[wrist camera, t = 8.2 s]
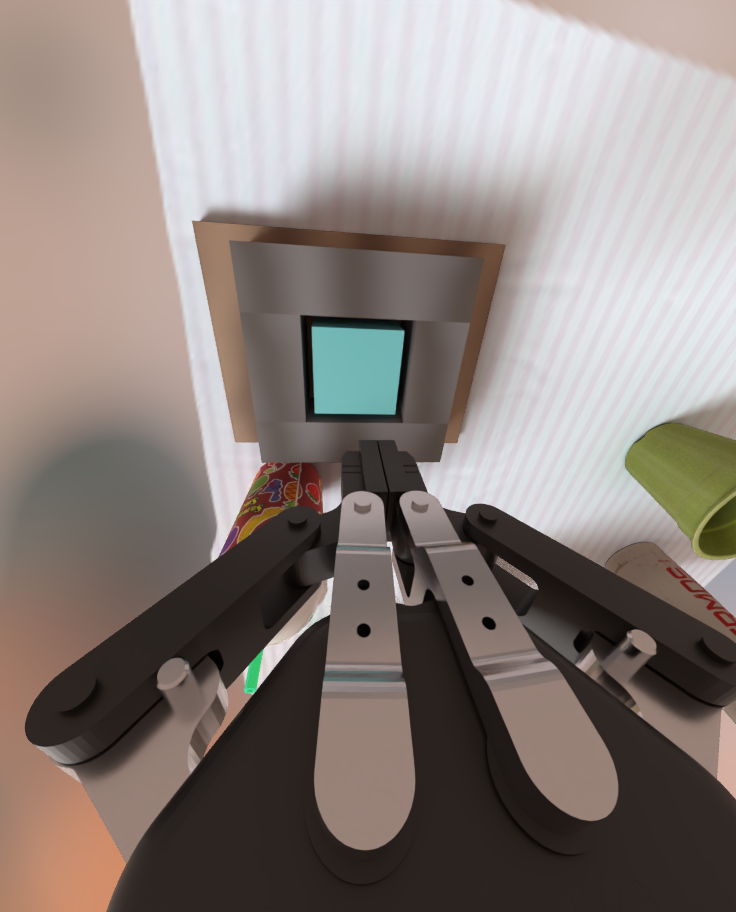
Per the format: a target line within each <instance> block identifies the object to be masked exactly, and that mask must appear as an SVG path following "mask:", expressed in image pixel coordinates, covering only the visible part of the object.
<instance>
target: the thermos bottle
mask: <svg viewBox="0 0 736 912" xmlns="http://www.w3.org/2000/svg"><path fill="white" fill-rule="evenodd" d="M605 568H606V569H607V570H609V571H611V572H613V573H615V574H616V575H618V576H620V577H622V578H624V579H625V580H627V581H629V582H631V583H633V584H634V585H636V586H638V587H640V588H642V589H643V590H645V591H647V592H649V593H650V594H652V595H654V596H656V597H658V598H659V599H661V600H663V601H665V602H667V603H668V604H670V605H672V606H674V607H676V608H677V609H679V610H681V611H683V612H685V613H686V614H688V615H690V616H692V617H694V618H695V619H697V620H699V621H701V622H703V623H704V624H706V625H708V626H710V627H712V628H713V629H715V630H717V631H719V632H720V633H722V634H724V635H725V636H727V637H728V638H730V639H731V640H732V641H734V642H735V643H736V618H735V617H734V616H733V615H732V614H730V613H729V612H728V611H727V610H726V609H725V608H724V607H723V606H722V605H721V604H720V603H719V602H718V601H717V600H716V599H715V598H714V597H713V596H712V595H711V594H709V593H708V592H707V591H706V590H705V589H704V588H703V587H702V586H701V585H700V584H698V583H697V582H696V581H695V580H694V579H693V578H692V577H691V576H690V575H688V574H687V573H686V572H685V571H684V570H683V569H682V568H681V567H680V566H678V565H677V564H676V563H675V562H674V561H673V560H672V559H671V558H670V557H669V556H667V555H666V554H665V553H664V552H663V551H662V550H661V549H660V548H659V547H657V546H656V545H655V544H653V543H649V542H641V543H636V544H632V545H630V546H627V547H625V548H623V549H621V550H619V551H618V552H616V553H615V554H614V555H613V556H611V558H610V559H609V560H608V561H607V563H606V565H605ZM723 710H724V711H725V712H726V713H727V715H728V716H729V717H730V718H731V719H732V720H733V722H734V723H735V724H736V701H734V702H733V703H731V704H729V705H728V706H727V707H725V708H723Z"/></svg>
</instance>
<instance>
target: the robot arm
mask: <svg viewBox="0 0 736 912" xmlns="http://www.w3.org/2000/svg"><path fill="white" fill-rule="evenodd" d="M341 495H342V502H341V504H340V505H339V506H338V507H337V508H335V509H334V510H332V511H330V512H327V513H323V514H319V513H318V512H317V511H316V510H314V509H313V508H310V507H307V506H294V507H290V508H287V509H285V510H283V511H282V512H280V513H279V514H278V515H276V516H275V517H273V518H272V519H271V520H269V521H268V522H267V523H265V524H264V525H263V526H261V527H260V528H258V529H257V530H256V531H254V532H253V533H252V534H250V535H249V536H247V537H246V538H245V539H243V540H242V541H241V542H239V543H238V544H237V545H235V546H234V547H232V548H231V549H230V550H228V551H227V552H226V553H224V554H223V555H221V556H220V557H219V558H217V559H216V560H215V561H213V562H212V563H210V564H209V565H208V566H206V567H205V568H204V569H203V570H201V571H200V572H198V573H197V574H195V575H194V576H193V577H191V578H190V579H189V580H187V581H186V582H185V583H183V584H182V585H181V586H179V587H178V588H176V589H175V590H174V591H172V592H171V593H169V594H168V595H167V596H166V597H164V598H163V599H161V600H160V601H158V602H157V603H156V604H154V605H153V606H152V607H150V608H149V609H148V610H146V611H145V612H143V613H142V614H141V615H139V616H138V617H137V618H135V619H134V620H132V621H131V622H130V623H128V624H127V625H126V626H124V627H123V628H122V629H120V630H119V631H117V632H116V633H115V634H113V635H112V636H111V637H109V638H108V639H106V640H105V641H104V642H102V643H101V644H100V645H98V646H97V647H96V648H94V649H93V650H92V651H90V652H89V653H87V654H86V655H84V656H83V657H82V658H80V659H79V660H78V661H76V662H75V663H74V664H72V665H71V666H70V667H68V668H67V669H65V670H64V671H63V672H61V673H60V674H59V675H58V676H56V677H55V678H54V679H53V680H52V681H51V682H50V683H49V684H48V685H47V686H46V687H45V688H44V689H43V690H42V692H41V693H40V694H39V695H38V697H37V698H36V699H35V701H34V703H33V705H32V706H31V708H30V710H29V712H28V715H27V718H26V722H25V733H26V736H27V738H28V740H29V741H30V742H31V743H32V744H34V745H35V746H36V747H38V748H39V749H41V750H42V751H43V752H45V753H46V754H48V756H49V758H50V760H51V761H52V762H53V763H54V764H55V765H56V766H58V767H59V768H60V769H62V770H63V771H65V772H66V773H67V774H69V775H70V776H72V777H73V778H74V779H76V780H77V781H79V782H80V783H82V785H83V787H84V788H85V790H86V792H87V794H88V796H89V797H90V799H91V801H92V803H93V804H94V806H95V808H96V810H97V811H98V813H99V815H100V817H101V819H102V821H103V822H104V824H105V826H106V828H107V830H108V831H109V833H110V835H111V837H112V839H113V840H114V842H115V844H116V846H117V848H118V849H119V851H120V853H121V855H122V856H123V858H124V860H125V862H126V866H125V868H124V870H123V872H122V874H121V877H120V879H119V881H118V883H117V886H116V888H115V890H114V893H113V895H112V898H111V900H110V903H109V906H108V909H107V912H736V799H735V798H734V797H733V796H732V795H731V794H730V793H729V791H728V790H727V789H726V788H725V787H724V786H723V785H722V784H721V783H720V782H719V781H718V780H717V768H718V752H719V751H718V750H719V737H720V720H721V710H722V709H723V708H725V707H727V706H728V705H729V704H731V703H733V702H734V701H736V643H735V642H734V641H732V640H731V639H730V638H728V637H727V636H725V635H724V634H722V633H720V632H719V631H717V630H715V629H713V628H712V627H710V626H708V625H706V624H704V623H703V622H701V621H699V620H697V619H695V618H694V617H692V616H690V615H688V614H686V613H685V612H683V611H681V610H679V609H677V608H676V607H674V606H672V605H670V604H668V603H667V602H665V601H663V600H661V599H659V598H658V597H656V596H654V595H652V594H650V593H649V592H647V591H645V590H643V589H642V588H640V587H638V586H636V585H634V584H633V583H631V582H629V581H627V580H625V579H624V578H622V577H620V576H618V575H616V574H615V573H613V572H611V571H609V570H607V569H606V568H604V567H602V566H600V565H598V564H597V563H595V562H593V561H591V560H589V559H588V558H586V557H584V556H582V555H580V554H579V553H577V552H575V551H573V550H571V549H570V548H568V547H566V546H564V545H562V544H561V543H559V542H557V541H555V540H553V539H552V538H550V537H548V536H546V535H544V534H543V533H541V532H539V531H537V530H535V529H534V528H532V527H530V526H528V525H526V524H525V523H523V522H521V521H519V520H517V519H516V518H514V517H512V516H510V515H508V514H507V513H505V512H503V511H501V510H499V509H498V508H495V507H493V506H490V505H487V504H474V505H471V506H469V507H468V508H467V510H466V513H461V512H456V511H451V510H448V509H445V508H442V506H441V504H440V502H439V501H438V499H437V498H436V497H434V496H433V495H431V494H429V493H428V492H427V489H426V487H425V484H424V482H423V479H422V477H421V474H420V473H419V469H418V467H417V464H416V462H415V459H414V457H412V456H411V455H410V454H409V453H408V452H407V451H398V449H397V446H396V443H395V440H377V441H376V440H359V441H358V451H346V453H345V454H344V455H343V457H342V471H341ZM388 541H392V545H393V551H392V559H391V551H390V547H387V542H388ZM498 556H499V557H500V558H502V559H503V560H505V561H506V562H508V563H509V564H511V565H512V566H514V567H516V568H517V569H519V570H520V571H522V572H523V573H525V574H526V575H528V576H529V577H531V578H532V579H533V580H534V581H535V582H536V584H537V586H538V589H539V590H535V589H533V588H531V587H529V586H528V585H526V584H525V583H523V582H522V581H520V580H519V579H517V578H516V577H514V576H513V575H511V574H510V573H508V572H507V571H505V570H504V569H502V568H501V567H500V566H498V565H497V564H495V563H496V560H497V558H498ZM392 562H393V565H394V569H395V572H396V576H397V580H398V583H399V587H400V590H401V594H402V597H403V601H404V604H398V603H396V602H395V591H394V581H393V570H392ZM332 577H334V581H333V591H332V602H331V613H330V615H329V616H327V617H325V618H322V619H321V620H319V621H318V622H316V623H314V624H313V625H312V626H310V627H309V628H308V629H307V630H306V631H305V632H304V633H303V634H302V635H301V636H299V638H298V639H297V640H296V641H295V642H294V644H293V645H292V646H291V648H290V649H289V650H288V651H287V653H286V654H285V655H284V656H283V658H282V659H281V660H280V661H279V663H278V664H277V665H276V666H275V668H274V669H273V670H272V672H271V673H270V674H269V675H268V677H267V678H266V679H265V680H264V682H263V683H262V684H261V685H260V687H259V688H258V689H257V691H256V692H255V693H254V694H253V696H252V697H251V698H250V699H249V701H248V702H247V703H246V704H245V706H244V707H243V708H242V710H241V711H240V712H239V713H238V715H237V716H236V717H235V718H234V720H233V721H232V722H231V723H230V725H229V726H228V727H227V728H226V730H225V731H224V732H223V734H222V735H221V736H220V737H219V739H218V740H217V741H216V742H215V744H214V745H213V746H212V748H211V749H210V750H209V751H208V753H207V754H206V755H205V756H204V754H205V752H206V749H207V747H208V745H209V743H210V741H211V739H212V738H213V736H214V735H215V733H216V732H217V730H218V729H219V728H220V726H221V724H222V722H223V720H224V717H225V715H226V712H227V708H228V694H227V690H226V689H227V688H228V687H229V686H230V685H231V684H232V683H233V682H234V681H235V680H236V678H237V677H238V676H239V675H240V674H241V673H242V672H243V671H244V670H245V669H246V667H247V666H248V665H249V664H250V663H251V662H252V661H253V660H254V659H255V658H256V657H257V655H258V654H259V653H260V652H261V651H262V650H263V649H264V648H265V647H266V646H267V644H268V643H269V642H270V641H271V640H272V639H273V638H274V637H275V636H276V635H277V634H278V632H279V631H280V630H281V629H282V628H283V627H284V626H285V625H286V624H287V623H288V621H289V620H290V619H291V618H292V617H293V616H294V615H295V614H296V613H297V612H298V610H299V609H300V608H301V607H302V606H303V605H304V604H305V603H306V602H307V601H308V600H309V598H310V597H311V596H312V595H313V594H314V593H315V592H316V591H317V590H318V588H319V587H320V585H321V583H322V581H324V580H327V579H329V578H332Z"/></svg>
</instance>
